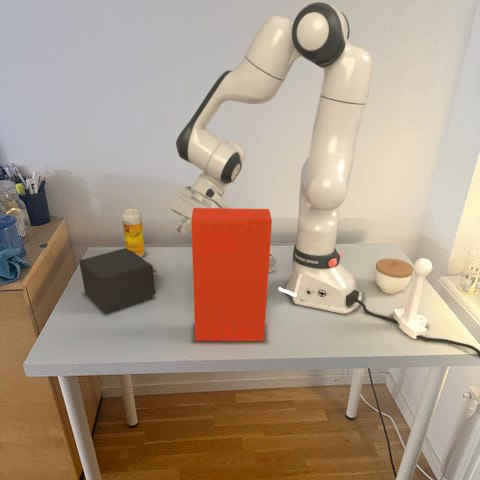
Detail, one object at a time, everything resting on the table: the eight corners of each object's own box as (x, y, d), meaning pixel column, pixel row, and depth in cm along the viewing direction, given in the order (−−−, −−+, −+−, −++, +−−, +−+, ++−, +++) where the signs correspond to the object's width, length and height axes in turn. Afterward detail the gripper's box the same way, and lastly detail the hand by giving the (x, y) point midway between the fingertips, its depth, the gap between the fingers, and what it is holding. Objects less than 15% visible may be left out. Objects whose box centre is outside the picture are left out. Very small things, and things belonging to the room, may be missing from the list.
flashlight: (241, 254, 159) (241, 240, 156) (255, 252, 161) (255, 237, 158) (261, 273, 148) (262, 258, 145) (276, 270, 150) (277, 255, 147)
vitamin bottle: (123, 256, 156) (117, 213, 147) (133, 249, 160) (128, 207, 152) (138, 259, 154) (134, 216, 146) (148, 252, 159) (144, 210, 150)
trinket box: (413, 288, 142) (420, 260, 137) (398, 301, 135) (405, 273, 130) (381, 277, 148) (387, 250, 143) (365, 289, 141) (370, 261, 136)
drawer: (146, 273, 144) (144, 246, 139) (167, 289, 136) (165, 262, 131) (93, 289, 135) (89, 261, 130) (113, 307, 126) (109, 279, 122)
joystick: (389, 316, 128) (405, 250, 117) (413, 313, 130) (431, 248, 119) (410, 339, 119) (429, 270, 108) (435, 336, 121) (457, 267, 110)
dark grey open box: (129, 280, 142) (126, 247, 136) (152, 298, 133) (149, 264, 127) (85, 293, 134) (79, 260, 128) (106, 314, 125) (100, 279, 119)
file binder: (196, 323, 123) (193, 207, 105) (261, 324, 123) (268, 208, 106) (195, 341, 116) (191, 220, 98) (263, 342, 117) (271, 221, 99)
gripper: (180, 178, 141) (155, 216, 141) (220, 195, 128) (192, 237, 128) (193, 190, 146) (168, 226, 146) (232, 208, 132) (205, 248, 133)
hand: (179, 232), depth 137 cm, fingers closed
